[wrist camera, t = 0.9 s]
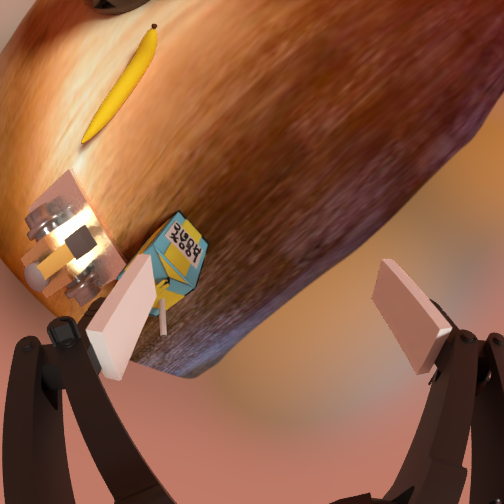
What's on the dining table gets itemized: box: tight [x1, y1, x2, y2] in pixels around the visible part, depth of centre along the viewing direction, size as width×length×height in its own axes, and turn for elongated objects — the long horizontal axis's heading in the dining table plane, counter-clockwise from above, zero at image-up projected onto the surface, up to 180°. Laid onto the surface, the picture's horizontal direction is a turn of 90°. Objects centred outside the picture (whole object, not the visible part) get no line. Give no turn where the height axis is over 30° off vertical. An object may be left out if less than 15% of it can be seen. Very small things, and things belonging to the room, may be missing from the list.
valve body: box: [21, 168, 128, 306], centre depth 38 cm, size 20×13×10 cm, turn 27°
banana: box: [81, 24, 157, 144], centre depth 31 cm, size 3×19×6 cm, turn 143°
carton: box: [116, 210, 209, 336], centre depth 35 cm, size 7×8×18 cm
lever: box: [24, 224, 98, 292], centre depth 32 cm, size 15×4×2 cm, turn 117°
